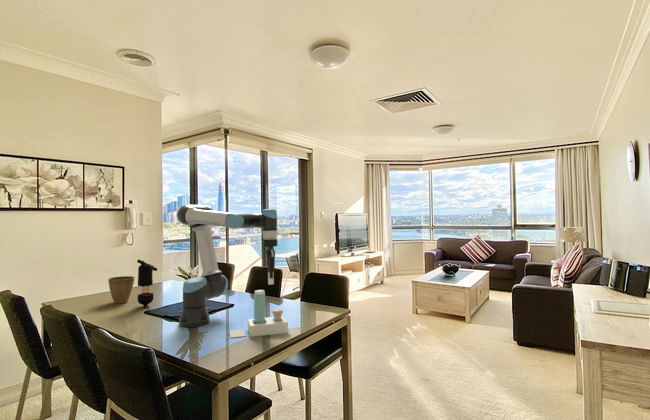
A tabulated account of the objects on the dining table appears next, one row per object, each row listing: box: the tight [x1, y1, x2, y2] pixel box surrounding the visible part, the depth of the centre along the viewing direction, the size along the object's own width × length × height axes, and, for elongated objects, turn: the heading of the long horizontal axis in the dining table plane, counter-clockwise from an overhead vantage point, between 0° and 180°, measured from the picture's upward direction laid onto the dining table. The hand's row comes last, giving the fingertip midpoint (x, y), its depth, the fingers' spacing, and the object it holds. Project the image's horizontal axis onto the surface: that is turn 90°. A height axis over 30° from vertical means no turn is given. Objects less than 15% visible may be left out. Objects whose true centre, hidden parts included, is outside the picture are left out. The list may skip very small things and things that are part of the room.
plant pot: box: [107, 275, 135, 304], centre depth 219 cm, size 15×15×16 cm
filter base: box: [247, 315, 289, 338], centre depth 165 cm, size 18×11×5 cm, turn 109°
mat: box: [229, 329, 246, 339], centre depth 160 cm, size 7×9×1 cm
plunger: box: [272, 308, 284, 320], centre depth 166 cm, size 5×5×4 cm
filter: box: [136, 259, 158, 308], centre depth 210 cm, size 14×9×30 cm
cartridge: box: [253, 289, 266, 324], centre depth 163 cm, size 5×5×20 cm
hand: (271, 284), depth 172 cm, fingers closed
